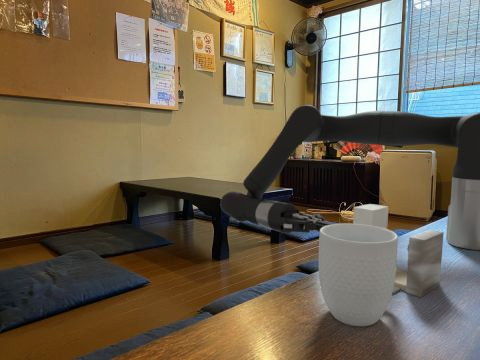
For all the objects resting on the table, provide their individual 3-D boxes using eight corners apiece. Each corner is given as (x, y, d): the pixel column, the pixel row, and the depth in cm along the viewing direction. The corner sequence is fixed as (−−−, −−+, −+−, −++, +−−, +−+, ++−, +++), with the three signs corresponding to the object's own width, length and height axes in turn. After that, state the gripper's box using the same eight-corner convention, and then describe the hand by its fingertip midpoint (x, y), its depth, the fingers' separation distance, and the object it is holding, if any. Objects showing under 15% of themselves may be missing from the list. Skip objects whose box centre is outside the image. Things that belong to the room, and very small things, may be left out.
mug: (362, 288, 62) (366, 217, 60) (423, 314, 53) (429, 231, 51) (301, 310, 54) (303, 228, 52) (360, 345, 45) (365, 247, 43)
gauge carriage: (341, 269, 67) (343, 209, 66) (367, 259, 73) (370, 203, 72) (359, 275, 64) (362, 212, 63) (385, 264, 70) (388, 206, 69)
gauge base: (341, 275, 67) (343, 226, 66) (369, 264, 74) (371, 218, 73) (414, 301, 57) (417, 242, 56) (439, 285, 63) (443, 232, 62)
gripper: (258, 204, 85) (314, 216, 72) (294, 199, 93) (350, 208, 80) (258, 234, 86) (313, 251, 72) (293, 226, 94) (349, 240, 81)
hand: (332, 229), depth 76 cm, fingers closed
